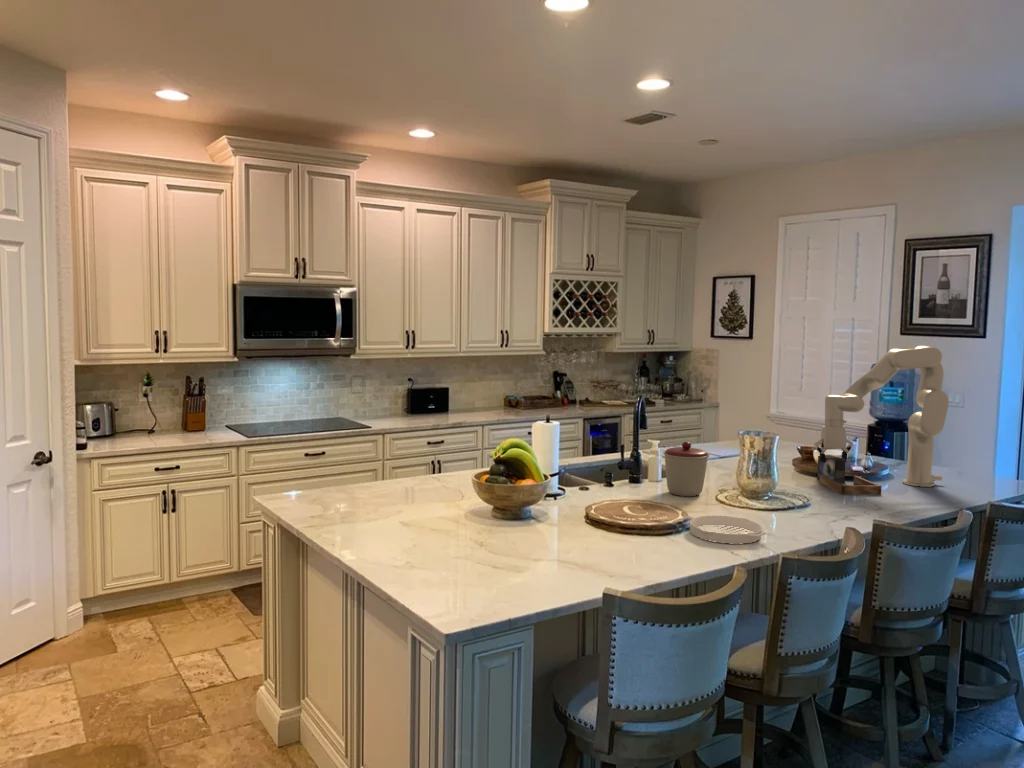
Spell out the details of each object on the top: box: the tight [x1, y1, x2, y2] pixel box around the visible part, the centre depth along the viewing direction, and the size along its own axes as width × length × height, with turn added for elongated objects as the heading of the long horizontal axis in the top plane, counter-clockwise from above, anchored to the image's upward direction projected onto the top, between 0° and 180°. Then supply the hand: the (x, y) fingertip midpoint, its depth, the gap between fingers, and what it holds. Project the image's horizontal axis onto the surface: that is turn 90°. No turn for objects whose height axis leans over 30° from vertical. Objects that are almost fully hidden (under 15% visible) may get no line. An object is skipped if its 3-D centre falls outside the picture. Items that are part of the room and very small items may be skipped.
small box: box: [816, 454, 847, 484], centre depth 341 cm, size 11×6×10 cm, turn 21°
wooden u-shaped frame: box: [819, 475, 882, 495], centre depth 324 cm, size 16×20×4 cm
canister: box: [662, 441, 710, 497], centre depth 309 cm, size 18×18×21 cm
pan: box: [686, 515, 767, 545], centre depth 258 cm, size 24×41×4 cm, turn 42°
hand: (833, 461), depth 341 cm, fingers open, 9 cm apart
